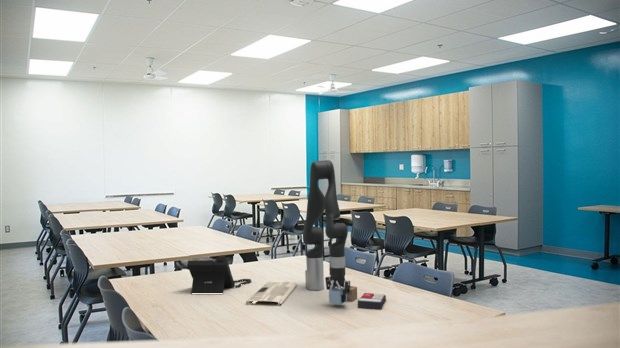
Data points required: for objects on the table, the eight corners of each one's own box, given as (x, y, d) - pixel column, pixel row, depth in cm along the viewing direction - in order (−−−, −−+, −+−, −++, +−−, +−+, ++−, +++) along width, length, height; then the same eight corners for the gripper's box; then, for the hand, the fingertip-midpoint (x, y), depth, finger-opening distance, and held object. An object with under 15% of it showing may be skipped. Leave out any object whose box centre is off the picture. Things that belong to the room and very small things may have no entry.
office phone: (253, 281, 266) (252, 247, 265) (241, 294, 238) (240, 256, 237) (204, 281, 269) (203, 247, 268) (187, 294, 240) (186, 257, 240)
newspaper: (267, 285, 256) (267, 280, 256) (300, 286, 252) (300, 281, 252) (245, 305, 220) (245, 300, 220) (284, 307, 216) (284, 301, 216)
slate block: (329, 302, 214) (328, 289, 213) (337, 299, 218) (337, 286, 218) (338, 304, 210) (338, 292, 209) (346, 301, 214) (346, 289, 214)
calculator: (385, 293, 221) (381, 300, 207) (386, 302, 221) (381, 310, 207) (363, 292, 224) (357, 299, 210) (363, 300, 224) (357, 308, 210)
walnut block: (341, 300, 223) (340, 288, 223) (346, 297, 228) (346, 285, 228) (352, 302, 220) (352, 289, 220) (357, 298, 225) (356, 286, 225)
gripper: (320, 264, 215) (321, 299, 216) (343, 269, 205) (344, 305, 206) (331, 261, 221) (331, 295, 221) (354, 266, 211) (354, 301, 211)
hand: (338, 300), depth 214 cm, fingers closed on slate block, 6 cm apart
